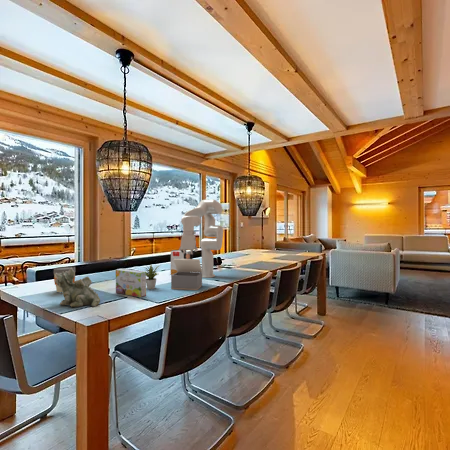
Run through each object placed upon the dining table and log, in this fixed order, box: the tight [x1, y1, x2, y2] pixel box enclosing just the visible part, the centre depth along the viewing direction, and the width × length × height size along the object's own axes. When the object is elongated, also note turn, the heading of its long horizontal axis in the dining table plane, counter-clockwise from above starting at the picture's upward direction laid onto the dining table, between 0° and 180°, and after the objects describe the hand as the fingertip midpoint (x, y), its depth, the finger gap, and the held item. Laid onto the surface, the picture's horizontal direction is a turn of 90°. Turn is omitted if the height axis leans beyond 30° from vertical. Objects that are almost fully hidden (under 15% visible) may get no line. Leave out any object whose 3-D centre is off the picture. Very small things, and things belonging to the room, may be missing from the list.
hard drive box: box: [170, 250, 191, 275], centre depth 251 cm, size 16×8×20 cm, turn 81°
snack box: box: [115, 267, 147, 298], centre depth 183 cm, size 21×6×15 cm, turn 62°
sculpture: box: [54, 266, 101, 308], centre depth 162 cm, size 16×27×20 cm, turn 76°
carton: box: [170, 272, 203, 291], centre depth 204 cm, size 14×18×9 cm
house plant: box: [143, 264, 162, 290], centre depth 201 cm, size 14×14×16 cm
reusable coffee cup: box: [53, 266, 76, 293], centre depth 190 cm, size 13×13×15 cm
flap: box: [173, 253, 202, 273], centre depth 208 cm, size 14×18×6 cm
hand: (188, 259), depth 206 cm, fingers closed on flap, 3 cm apart
